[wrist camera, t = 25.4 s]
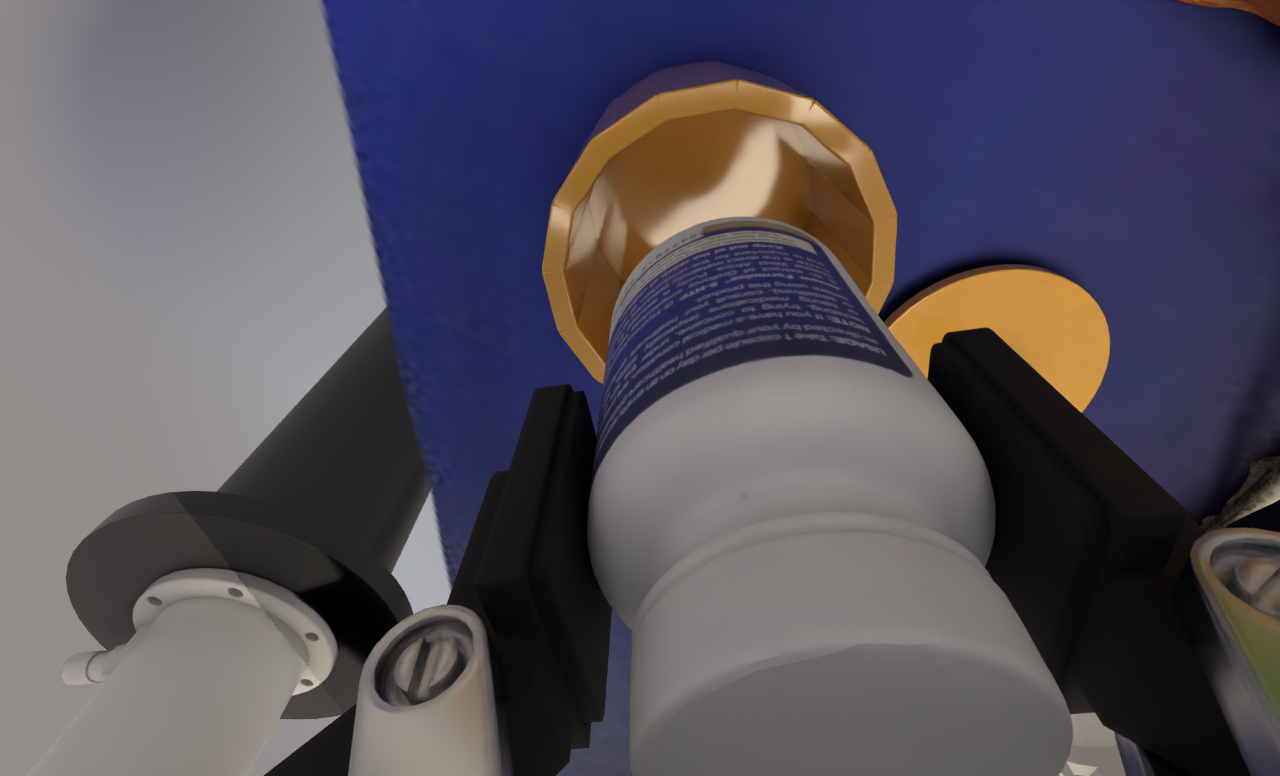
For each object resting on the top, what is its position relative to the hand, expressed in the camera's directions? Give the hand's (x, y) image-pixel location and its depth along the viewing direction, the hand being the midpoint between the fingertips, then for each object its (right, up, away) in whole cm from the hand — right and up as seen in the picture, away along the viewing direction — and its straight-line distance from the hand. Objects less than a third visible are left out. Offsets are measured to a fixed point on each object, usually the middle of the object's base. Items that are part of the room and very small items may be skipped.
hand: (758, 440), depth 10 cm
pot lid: (+12, +1, +15) cm, 20 cm away
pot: (0, +8, +12) cm, 15 cm away
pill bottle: (0, +2, +3) cm, 4 cm away
